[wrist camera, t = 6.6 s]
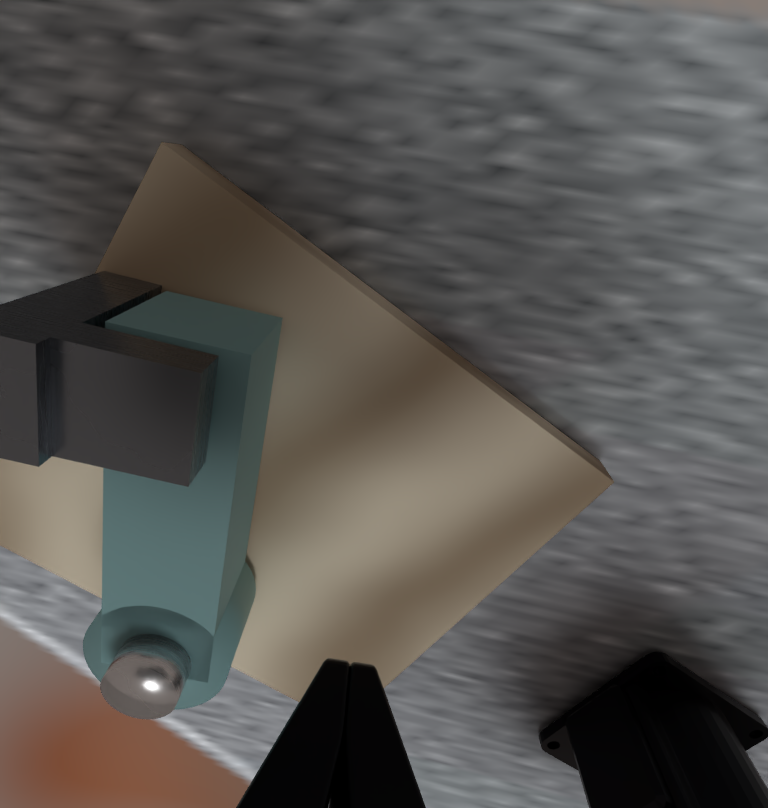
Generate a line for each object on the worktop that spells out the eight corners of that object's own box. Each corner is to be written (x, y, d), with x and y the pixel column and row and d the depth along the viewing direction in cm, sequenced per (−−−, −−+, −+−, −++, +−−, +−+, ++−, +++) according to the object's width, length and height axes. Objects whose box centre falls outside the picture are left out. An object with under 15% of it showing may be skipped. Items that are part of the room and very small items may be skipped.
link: (248, 637, 18) (208, 754, 15) (132, 615, 18) (62, 728, 14) (301, 322, 14) (263, 377, 10) (146, 286, 13) (49, 329, 10)
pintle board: (600, 461, 17) (704, 615, 11) (345, 696, 21) (323, 889, 16) (181, 144, 13) (12, 123, 8) (-8, 505, 18) (-200, 661, 12)
